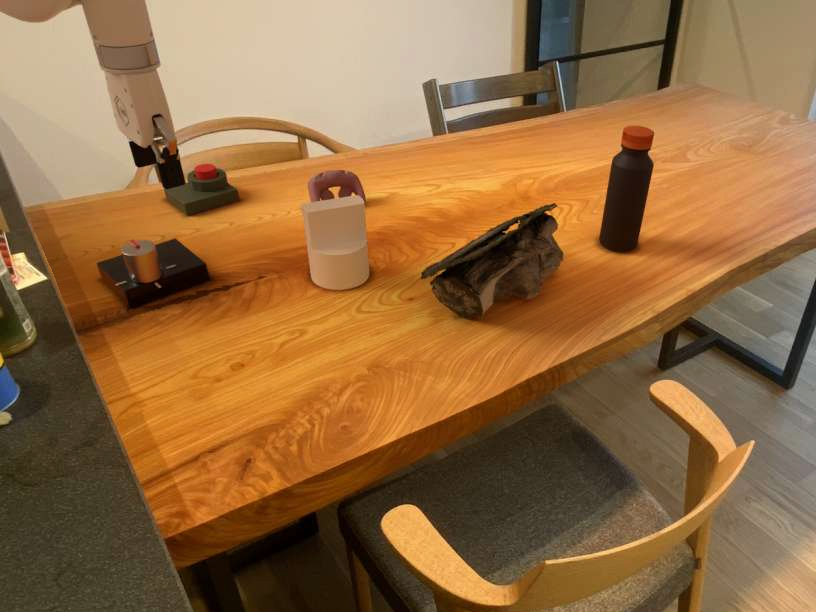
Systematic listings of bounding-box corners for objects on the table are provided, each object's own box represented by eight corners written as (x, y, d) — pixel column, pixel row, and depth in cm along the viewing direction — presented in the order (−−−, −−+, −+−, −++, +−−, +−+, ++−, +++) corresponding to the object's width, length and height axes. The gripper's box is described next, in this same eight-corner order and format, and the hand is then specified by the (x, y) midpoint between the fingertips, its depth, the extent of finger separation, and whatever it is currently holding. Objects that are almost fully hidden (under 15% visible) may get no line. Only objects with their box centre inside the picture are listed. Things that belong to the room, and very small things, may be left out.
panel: (135, 316, 97) (128, 297, 95) (100, 280, 103) (93, 262, 101) (217, 286, 104) (213, 268, 102) (179, 254, 110) (175, 237, 108)
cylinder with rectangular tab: (320, 294, 104) (311, 222, 96) (304, 266, 110) (294, 195, 102) (377, 282, 107) (372, 211, 100) (358, 255, 113) (353, 186, 106)
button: (202, 182, 123) (200, 173, 122) (192, 176, 125) (190, 166, 124) (221, 177, 125) (219, 168, 124) (211, 171, 127) (209, 162, 126)
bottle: (590, 242, 121) (608, 129, 109) (613, 230, 125) (633, 120, 113) (622, 257, 118) (644, 142, 105) (644, 244, 122) (668, 132, 109)
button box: (187, 215, 121) (181, 194, 118) (165, 199, 125) (160, 178, 123) (241, 200, 127) (237, 179, 124) (219, 185, 131) (214, 164, 128)
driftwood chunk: (438, 358, 101) (495, 327, 89) (391, 283, 100) (442, 242, 88) (552, 281, 118) (612, 246, 106) (512, 216, 116) (569, 174, 104)
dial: (168, 276, 100) (160, 246, 97) (138, 286, 97) (128, 256, 94) (154, 264, 102) (146, 235, 99) (124, 274, 100) (115, 244, 97)
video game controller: (362, 205, 131) (355, 167, 129) (368, 204, 127) (361, 165, 125) (310, 213, 127) (302, 174, 125) (315, 212, 123) (306, 172, 121)
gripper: (75, 44, 96) (112, 163, 107) (125, 75, 87) (160, 202, 97) (130, 36, 100) (160, 152, 111) (183, 66, 91) (211, 188, 102)
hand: (160, 175), depth 104 cm, fingers open, 9 cm apart
